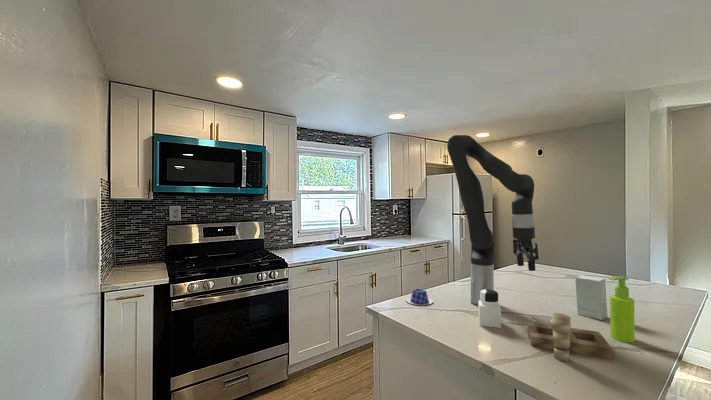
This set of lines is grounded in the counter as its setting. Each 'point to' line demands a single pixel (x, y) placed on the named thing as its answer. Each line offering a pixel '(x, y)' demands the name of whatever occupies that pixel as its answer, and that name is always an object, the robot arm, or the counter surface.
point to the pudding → (419, 297)
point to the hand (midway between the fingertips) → (526, 268)
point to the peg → (561, 336)
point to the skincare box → (591, 297)
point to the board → (571, 340)
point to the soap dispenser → (622, 312)
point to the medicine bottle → (489, 309)
